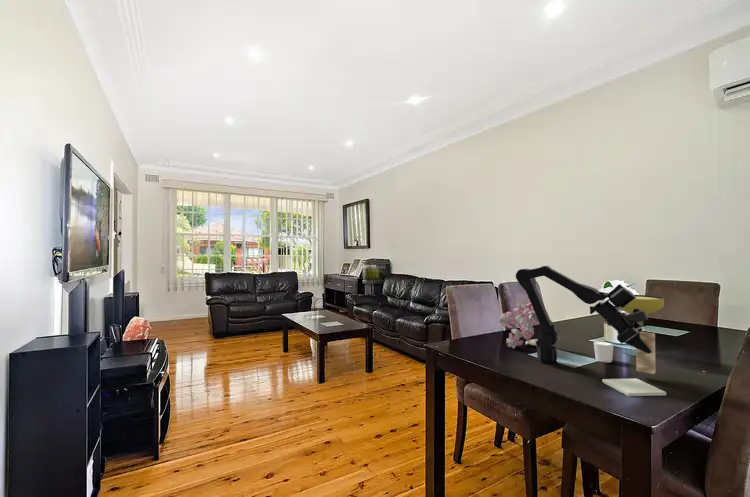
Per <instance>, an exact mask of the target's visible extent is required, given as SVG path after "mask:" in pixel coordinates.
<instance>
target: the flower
mask: <svg viewBox="0 0 750 497" xmlns="http://www.w3.org/2000/svg"><path fill="white" fill-rule="evenodd" d="M525 302H526V300H525V299H524V300H523V302H522V301H521V302H516V307H515V308H514V309H513V312H512V311H507V312H504V313H502V314H501V316H498V317H497V318H498V321H497V322H498V324H500V326H501V327H502V328H503V327H506V328H508V329H511V330H510V331H511V332H509V334H508V338H506V345H507V347H509V348H511V349H516V346H523V342H524V341H523V340H520V338H524V339H525V340H526V341H525V345H530V346H536V347H537V345H536V341H538V340H539V339H537V338H534V339H531V338H532V337H533V336H534V335H535V333H536V332H535V331H534V330H535V328H534V326H538V325H540V324H539V321H538V319H537V316H536V314H535V312H534V309H533V307H532V305H531V302H530V300H529V299H528V303H525ZM513 313H514V314H516V313H518V315H517V316H516V317H514V316H513ZM524 322H525V323H524ZM522 323H524V324H523V325H522V326H521V324H522ZM516 324H517V326H518V327H519V329H517V328H514V326H513V325H516Z"/></svg>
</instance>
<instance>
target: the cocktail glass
mask: <svg viewBox="0 0 750 497" xmlns="http://www.w3.org/2000/svg"><path fill="white" fill-rule="evenodd" d="M634 295H635V296H636V298H635V299H634V300H633V301H631V302H630V303H629V304H627V305H626V306H625V307H623V308H622V307H617V309H620V310H622V311H624V313H625V312H626V313H627V314H631V313H633V309H636V308H638V309H640V310H644V311H645V312H646V315H647V316H648V315H649V314H652V313H656V312H658V311H660V310H662V309H663V308H664V307H665V306H664V305H665V300H664V298H663V297H661V296H656V295H655V296H654V295H646V294H634ZM637 329H640V327H638V328H637ZM623 353H624V354H625V355H628V356H631V357H636V349H627V350H623Z"/></svg>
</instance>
